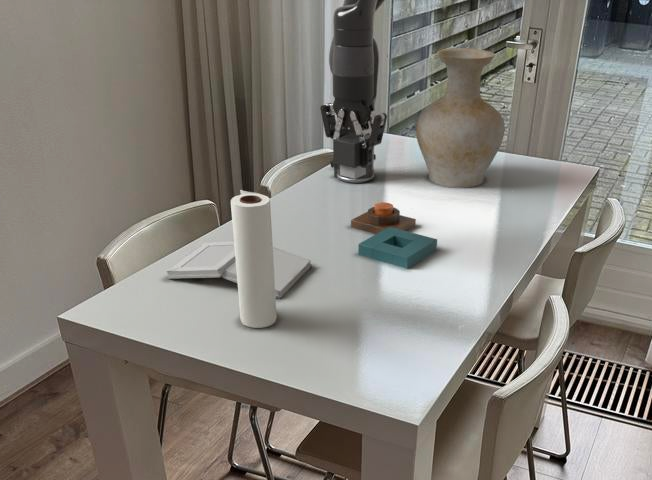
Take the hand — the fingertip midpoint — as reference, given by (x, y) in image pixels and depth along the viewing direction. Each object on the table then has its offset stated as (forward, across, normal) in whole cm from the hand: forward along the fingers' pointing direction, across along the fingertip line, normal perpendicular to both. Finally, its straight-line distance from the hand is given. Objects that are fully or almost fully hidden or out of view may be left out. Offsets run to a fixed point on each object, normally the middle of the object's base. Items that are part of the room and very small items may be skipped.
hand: (353, 163), depth 148 cm
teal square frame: (+17, -9, -4) cm, 20 cm away
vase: (+18, +5, -52) cm, 56 cm away
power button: (+14, +1, -14) cm, 20 cm away
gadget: (+18, +10, +22) cm, 30 cm away
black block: (+2, 0, 0) cm, 2 cm away
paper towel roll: (+18, -5, +34) cm, 39 cm away
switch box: (+17, +2, -14) cm, 22 cm away
